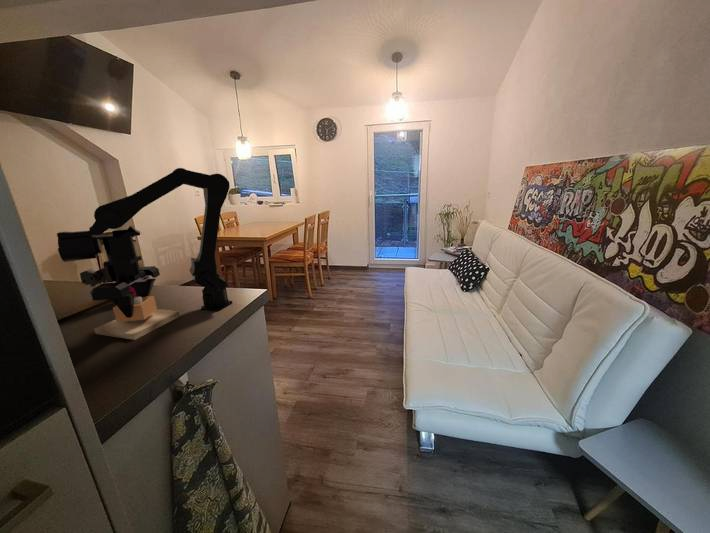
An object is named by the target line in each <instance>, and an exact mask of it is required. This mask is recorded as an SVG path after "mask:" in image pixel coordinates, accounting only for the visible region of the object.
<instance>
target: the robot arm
mask: <svg viewBox="0 0 710 533" xmlns="http://www.w3.org/2000/svg"><path fill="white" fill-rule="evenodd" d="M182 185H185V186H189V187H193V188H194V187H195V188H198V189H201V190H203V197H204V198H203V200H204V204H205V205H204V214H203V222H202V228H201V238H200V245H199V251H198V254H197V257H196V258H195V257H191V258H190V260H191V261H190V262H191V266H190V268H189V272H190V274H191V276H192V278H193V280H194V281H195V283H196V284H197V285H198V286H200V287H203V289H202V290H201V291H202V301H203V305H202V306H201V308H200V309H201V310H209V311H216V312H217V311H220V310H222V309H224V308H225V307H228V306H229V305H231V304H232V303H233V300H229V298H228V293H227V292H228V291H227V281H226V280H225V279H224V278H223V277H222V276H221V275H220V274H218V270H217V269H218V267H217V263H216V262H217V260H216V256H215V255H216V249H217V243H218V241H217V240H218V236H219V235H218V234H219V226H220V221H221V213H222V211H221V210H222V207H223V205H224V203H225V202H226V199H227V196H228V193H229V190H230V181H229V180H228V178H227V177H226V176H225V175H224V174H221V173H212V174H206V173H202V172H196V171H192V170H190V169H189V170H188V169H186V168H183V167H177V168H176V169H174V170H173V171H172V172H170V173H169V174H166V175H165V176H163V177H161V178H159V179H157V181H155V182H152V183H150V184H149V185H147V186H145V187H143V188H142V189H140V190H138V191H136V192H134V193H133V194H130V195H128V196H125V197H123V198H119V199H116V200H114V201H111V202H110V201H109V202H108V203H105V204H102V205H99V206H98V207H97V208H96V209H95V210H94V212H93V213H94V214H93V217H94V220H95V221H94V222H93V224H92V225H91V226H90V227H88V228H89V230H80V231H58V232H57V233H56V236H57V246H58V248H57V251H58V252H57V253H58V255H59V256H60V259H61V261H63V262H64V263H66V262H74V261H75V262H77V261H83V260H92V259H93V260H94V259H98V256H99V255H100V254H103V248H104V252H105V254H106V258H107V260H106V261H104V262H103V264H102V266H103V268H100V269H98V270H93V269H92V268H89V269H87V270H84V271H82V272H79V276H80V280H81V282H80V283H82V284H84V285H85V286H88V285H89V286H90V287H91V288H92V289H91V290H90V292H89V294H90V297H91V300H92V301H105V300H108V301H110V302H112V303H113V304H114V305H115V306H117V307H118V308H119V309H120V310H121V311H122V313H123V314H124V315H125V316H126V317H127V318H131V317H132V315H133V306H134V295H135V292H136V295H137V296H140V297H147V296H151V292H152V290H153V287H154V284H155V282H156V280H157V279H156V278H158V277H159V276H160V275H161V274H160V269H159V268H158V267H157V266H155V265H149V266H140V263H139V262H140V261H141V260H143V258H142V255H137V252H136V247H135V243H134V238H133V237H138V236H141V231H140V230H138V229H136V228H135V227H133V226H132V225H129V226H128V228H127V229H119V228H122V227H123V226H124V225H126V223H128V222H129V221H130V220H131V219H132V218H133V217H134V216H136V215H137V214H138V213H139V212H140V211H141V210H142V209H143V208H145V207H147V206H148V205H150V204H152V203H154V202H156V201H157V200H159V199H160V198H162V197H164V196H165V195H167V194H169V193H171V192H172V191H174V190H176V189H178V188H179V187H181V186H182ZM108 230H112V232H111V234H105V235H103V234H104V233H105V232H106V231H108ZM101 240H102V244H103V246H102V244H101ZM102 247H103V248H102ZM151 277H152V278H151ZM103 282H105V283H103ZM115 282H116V283H115ZM99 284H100V285H99ZM96 285H97V286H96ZM129 285H130V286H131V287H132V288H134V290H135V292H130V287H129ZM95 286H96V287H95Z"/></svg>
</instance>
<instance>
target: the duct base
mask: <svg viewBox="0 0 710 533" xmlns="http://www.w3.org/2000/svg"><path fill="white" fill-rule="evenodd" d="M142 302H143V301H142V297H140V296H137V297H134V305H138V304H141V303H142ZM180 316H181V314H180V311H179V310H178V311H177V310H171V309H170V310H168V309H159V308H157V310H156V311H154V312H153V313H152V314H151V315H149V316H148V317H147V318H146V319H144V320H133V321H123V322H117V321H116V319H113V320H111V321H109V322H106V323H104V324H102V325H99V326H96V327H95V328H94V333H95V335H100V336H107V337H112V338H113V337H115V338H120V339H127V340H132V341H133V340H134V341H135V340H137V339H139V338H141V337H143V336H145V335H147V334H149V333H151V332H152V331H155V330H156V329H158V328H160V327H162V326H165V325H166V324H168V323H170V322H172V321H174V320H175V319H178V318H179V317H180Z"/></svg>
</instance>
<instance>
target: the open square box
mask: <svg viewBox="0 0 710 533" xmlns="http://www.w3.org/2000/svg"><path fill="white" fill-rule="evenodd" d="M142 301H143V302H142V303H141V304H138V305H134V306H133V315H132V317H131V318H127V317H126V316H125V315H124V314H123V313H122V311H121V310H120V309H119V308H118V307H117V306H116V305H115V306H113V307H112V309H113V310H112V311H113V313H114V317H115V320H116V321H117V322H123V321H133V320H144V319H146V318H147V317H148V316H149V315H151V314H152V313H153V312H154V311H156V310H157V309H158V307H157V302H156V299H155V295H150V296H147V297H142Z"/></svg>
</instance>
